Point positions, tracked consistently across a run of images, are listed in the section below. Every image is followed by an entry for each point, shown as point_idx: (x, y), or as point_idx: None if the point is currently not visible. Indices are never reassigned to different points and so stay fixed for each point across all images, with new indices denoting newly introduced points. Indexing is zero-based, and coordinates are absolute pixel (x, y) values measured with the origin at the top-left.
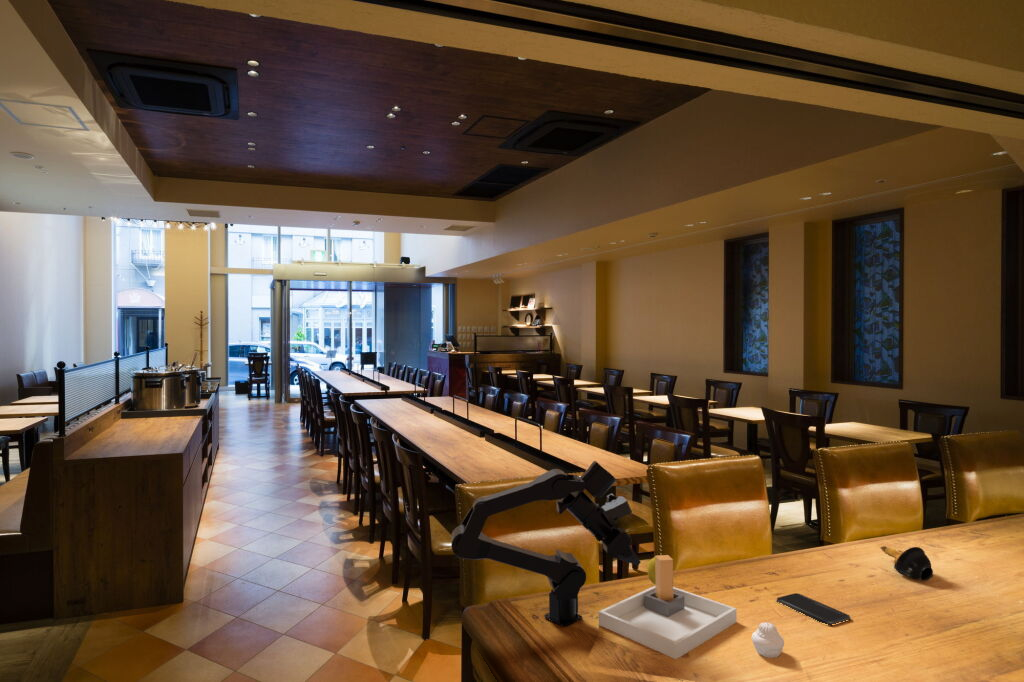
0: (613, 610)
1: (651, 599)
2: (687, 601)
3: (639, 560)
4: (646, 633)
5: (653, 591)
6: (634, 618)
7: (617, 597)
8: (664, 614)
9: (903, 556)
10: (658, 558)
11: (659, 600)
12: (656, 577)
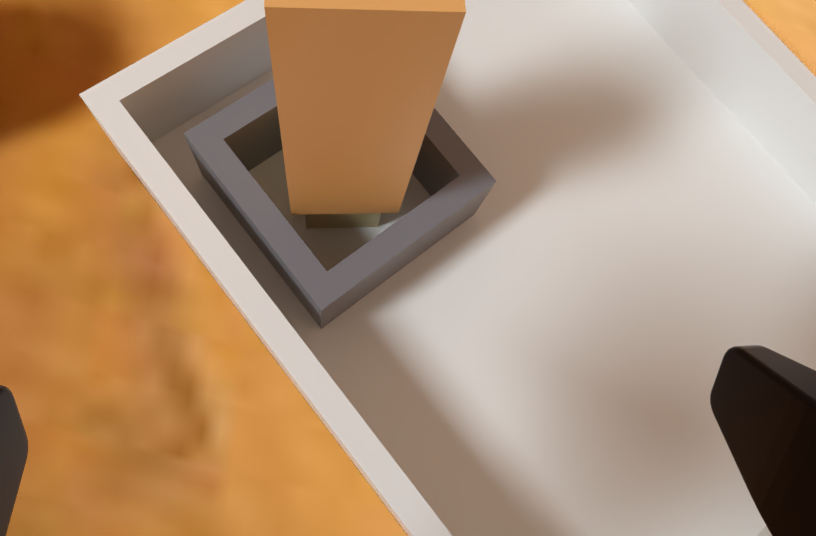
0: None
1: (376, 272)
2: None
3: (797, 365)
4: None
5: (254, 214)
6: (485, 450)
7: (23, 478)
8: (453, 228)
9: None
10: (392, 4)
11: (431, 223)
12: (315, 146)
